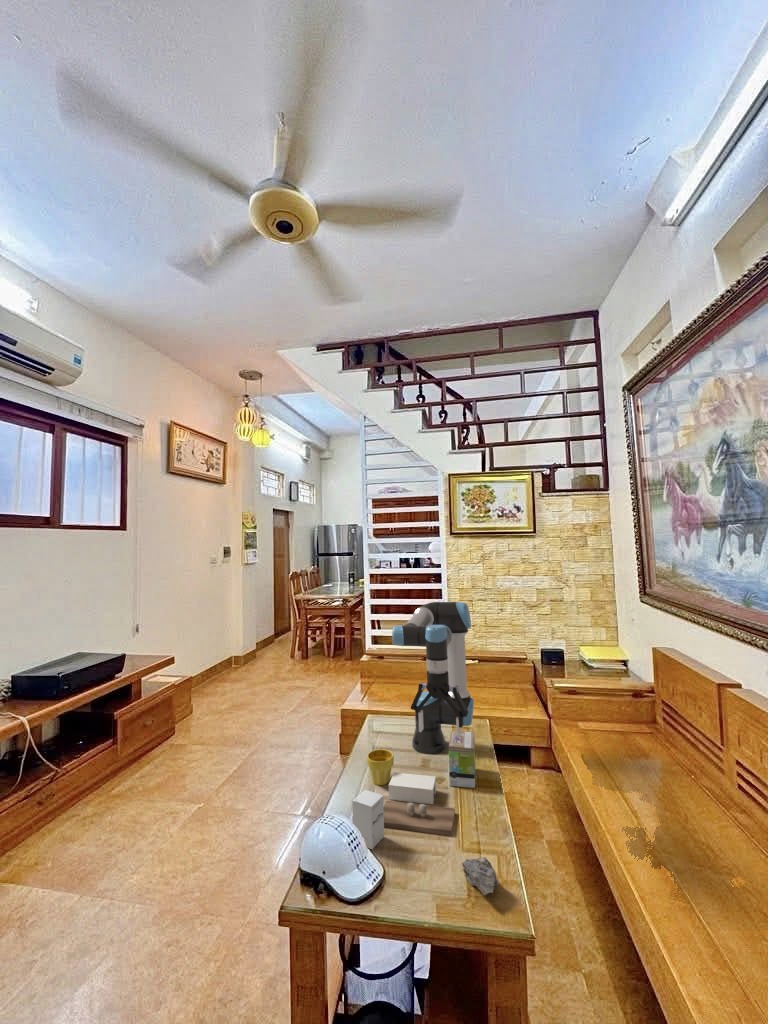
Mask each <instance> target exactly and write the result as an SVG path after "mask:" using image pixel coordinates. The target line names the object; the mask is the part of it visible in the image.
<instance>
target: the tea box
mask: <svg viewBox="0 0 768 1024" xmlns="http://www.w3.org/2000/svg"><path fill="white" fill-rule="evenodd" d="M475 740H476V739H475V732H473V731H461V736H460V738H457V730H450V733H449V742H448V775H449V776H448V777H449V779H448V781H449V782H448V783H449V784H448V785H449V786H451V787H456V788H457V787H458V788H459V787H461V788H470V789H472V788H473V789H475V788H476V746H475V745H476V741H475Z"/></svg>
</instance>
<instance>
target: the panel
mask: <svg viewBox="0 0 768 1024" xmlns="http://www.w3.org/2000/svg"><path fill="white" fill-rule="evenodd" d="M436 794H437V776H434V775H424V774H414V773H402V772H393V774H392V777H390V780H389V782H388V799H389V801H397V802H406V803H414V804H425V805H431V806H434V801H435V795H436Z"/></svg>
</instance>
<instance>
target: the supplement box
mask: <svg viewBox="0 0 768 1024" xmlns="http://www.w3.org/2000/svg"><path fill="white" fill-rule="evenodd" d="M351 801H352V825H353V824H354V825H355V826H356V827H357V828H358V829H359V831H360V832H361V834H362V835H363V837H364V839H365V841H366V843H367V844H368V846H369V848H370V849H372V850H373V849H374V848H375V847H376V846H377V845H378V843H380V841H381V840H383V838H384V837H385V827H384V805H385V803H384V795H383V794H380V793H378V792H374V791H371V790H368V789H365V790H362V792H361V793H359V795H357V796H356V797H355V798H354V799H353V800H351ZM370 849H369V850H370Z"/></svg>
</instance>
